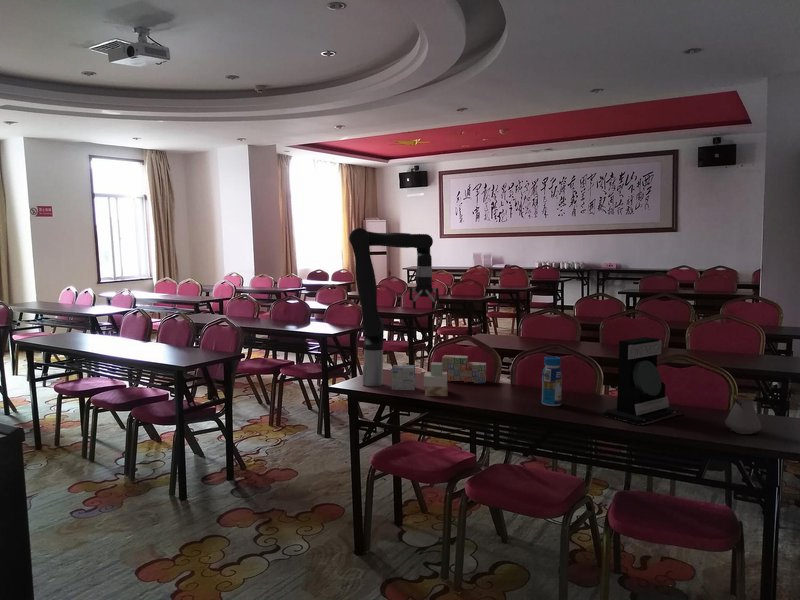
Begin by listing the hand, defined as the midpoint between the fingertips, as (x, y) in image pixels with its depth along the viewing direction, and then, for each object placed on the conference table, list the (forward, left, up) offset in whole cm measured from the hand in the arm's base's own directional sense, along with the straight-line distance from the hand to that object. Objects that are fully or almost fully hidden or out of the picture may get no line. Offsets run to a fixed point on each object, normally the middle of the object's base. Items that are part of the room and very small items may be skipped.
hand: (423, 309), depth 291 cm
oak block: (+6, -21, -36) cm, 42 cm away
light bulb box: (-9, -13, -36) cm, 40 cm away
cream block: (+6, -21, -32) cm, 39 cm away
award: (+88, -50, -36) cm, 108 cm away
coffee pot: (+114, -74, -36) cm, 141 cm away
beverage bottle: (+55, -36, -36) cm, 75 cm away
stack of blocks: (+20, +6, -36) cm, 42 cm away
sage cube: (+6, -21, -27) cm, 35 cm away
